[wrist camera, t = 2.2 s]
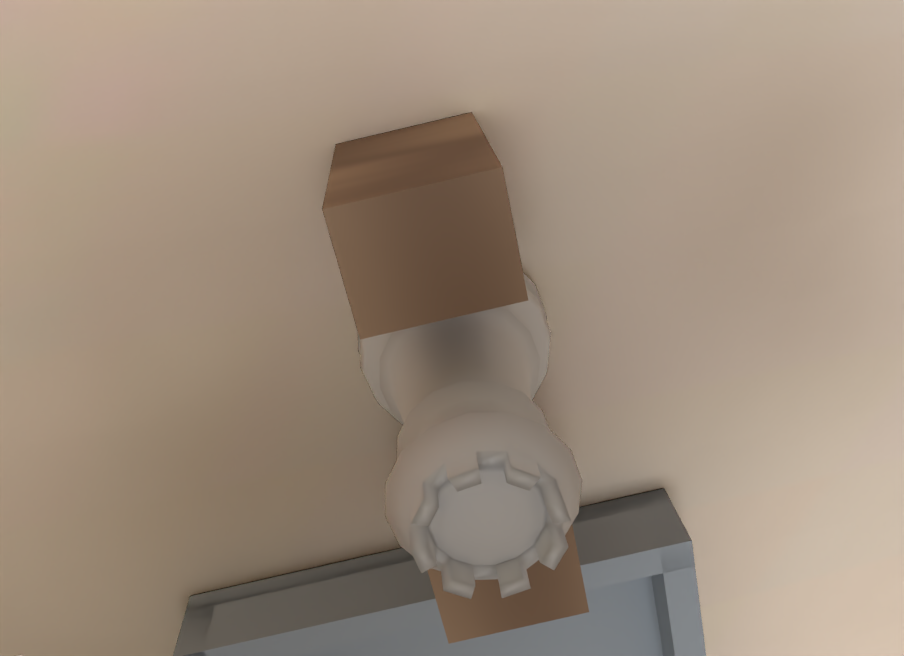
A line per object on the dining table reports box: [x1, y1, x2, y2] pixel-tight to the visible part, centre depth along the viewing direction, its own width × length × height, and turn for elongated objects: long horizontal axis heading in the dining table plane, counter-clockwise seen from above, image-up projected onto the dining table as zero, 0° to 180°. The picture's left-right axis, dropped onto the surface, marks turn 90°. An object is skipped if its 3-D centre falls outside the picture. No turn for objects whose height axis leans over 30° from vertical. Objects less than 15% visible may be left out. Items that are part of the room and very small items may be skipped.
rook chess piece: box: [358, 273, 582, 599], centre depth 17 cm, size 4×4×8 cm
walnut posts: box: [322, 112, 589, 644], centre depth 18 cm, size 3×10×5 cm, turn 12°
